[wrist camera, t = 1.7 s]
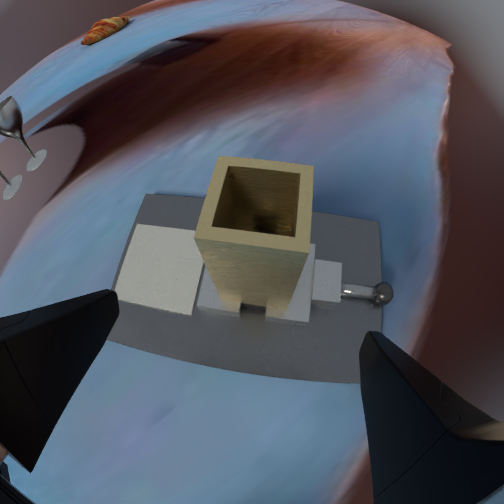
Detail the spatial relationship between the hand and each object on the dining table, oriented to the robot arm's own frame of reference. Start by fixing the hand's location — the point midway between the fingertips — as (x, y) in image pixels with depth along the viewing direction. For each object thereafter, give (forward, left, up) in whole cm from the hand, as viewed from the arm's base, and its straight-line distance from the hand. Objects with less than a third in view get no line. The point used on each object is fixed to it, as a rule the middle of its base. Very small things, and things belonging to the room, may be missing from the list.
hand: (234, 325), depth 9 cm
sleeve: (+5, -2, -9) cm, 11 cm away
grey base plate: (+5, -2, -12) cm, 13 cm away
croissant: (+94, +20, -12) cm, 97 cm away
